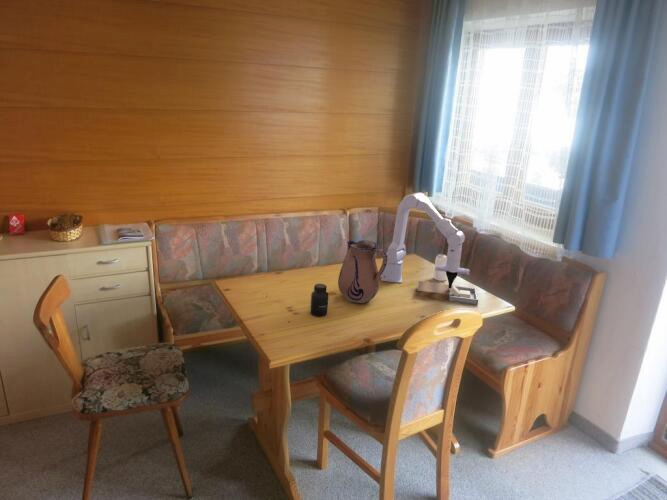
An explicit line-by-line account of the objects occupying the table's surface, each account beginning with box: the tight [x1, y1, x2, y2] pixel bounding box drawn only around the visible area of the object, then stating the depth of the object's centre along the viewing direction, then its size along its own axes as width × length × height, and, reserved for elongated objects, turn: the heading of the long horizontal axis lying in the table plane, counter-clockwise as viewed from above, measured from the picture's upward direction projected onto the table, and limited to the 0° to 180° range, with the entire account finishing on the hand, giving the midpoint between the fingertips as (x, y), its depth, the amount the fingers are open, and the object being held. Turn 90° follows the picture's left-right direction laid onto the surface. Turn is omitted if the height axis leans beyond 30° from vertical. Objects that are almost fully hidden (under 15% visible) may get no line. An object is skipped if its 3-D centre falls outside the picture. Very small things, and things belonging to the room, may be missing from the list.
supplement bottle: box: [309, 283, 329, 318], centre depth 191 cm, size 7×7×12 cm
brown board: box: [416, 280, 450, 302], centre depth 218 cm, size 14×12×3 cm
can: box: [433, 253, 448, 282], centre depth 236 cm, size 6×6×12 cm
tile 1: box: [449, 283, 460, 297], centre depth 216 cm, size 4×4×2 cm
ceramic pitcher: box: [337, 239, 388, 304], centre depth 204 cm, size 18×21×25 cm
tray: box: [448, 285, 479, 306], centre depth 216 cm, size 12×14×2 cm
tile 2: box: [459, 290, 470, 298], centre depth 216 cm, size 4×4×2 cm
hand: (449, 287), depth 216 cm, fingers closed, pressing on tile 1
